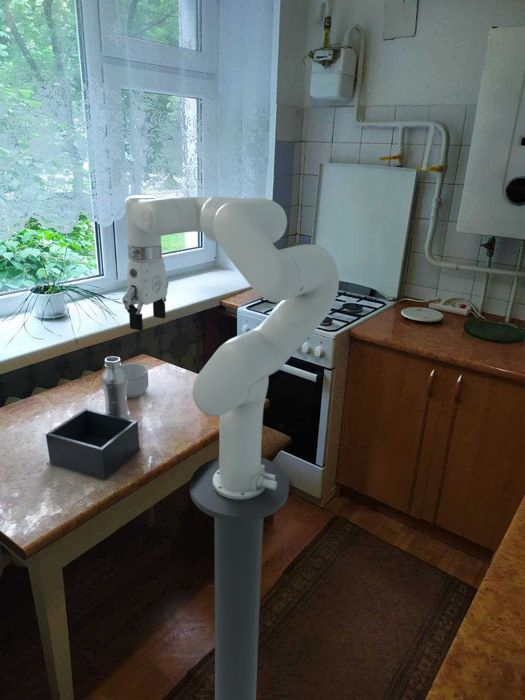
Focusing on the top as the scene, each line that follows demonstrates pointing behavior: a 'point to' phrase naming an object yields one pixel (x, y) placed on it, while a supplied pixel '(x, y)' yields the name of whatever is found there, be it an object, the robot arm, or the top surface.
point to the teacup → (135, 379)
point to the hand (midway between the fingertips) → (148, 323)
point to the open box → (93, 443)
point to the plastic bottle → (115, 388)
